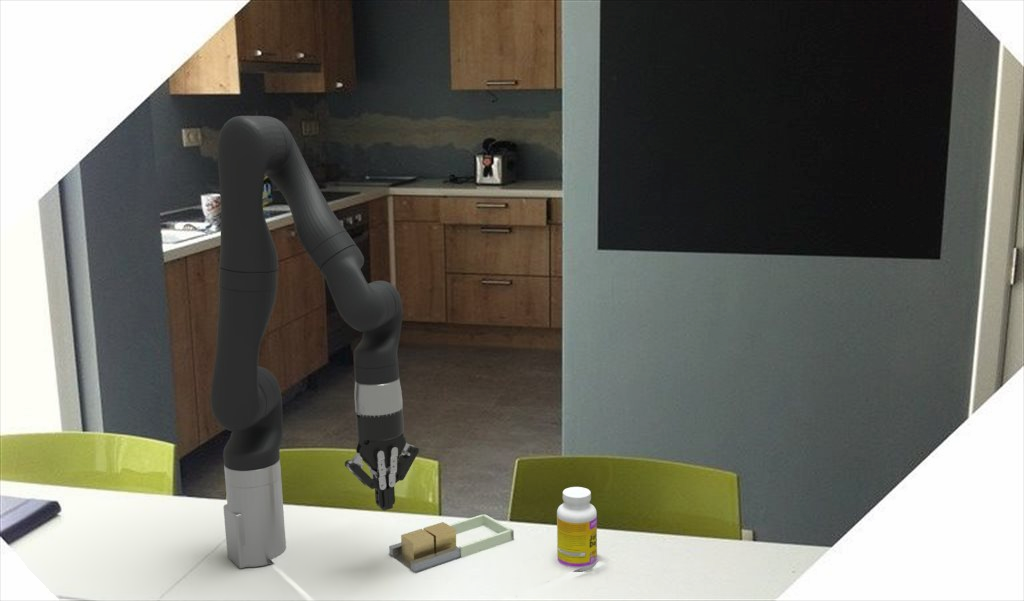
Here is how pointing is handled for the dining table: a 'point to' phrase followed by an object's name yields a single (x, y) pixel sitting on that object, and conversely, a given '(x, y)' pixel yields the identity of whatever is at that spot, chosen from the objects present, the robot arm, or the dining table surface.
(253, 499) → the robot arm
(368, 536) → the dining table surface
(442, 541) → the brass block
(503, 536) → the tray
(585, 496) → the supplement bottle
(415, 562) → the slot rail
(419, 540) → the brass block
